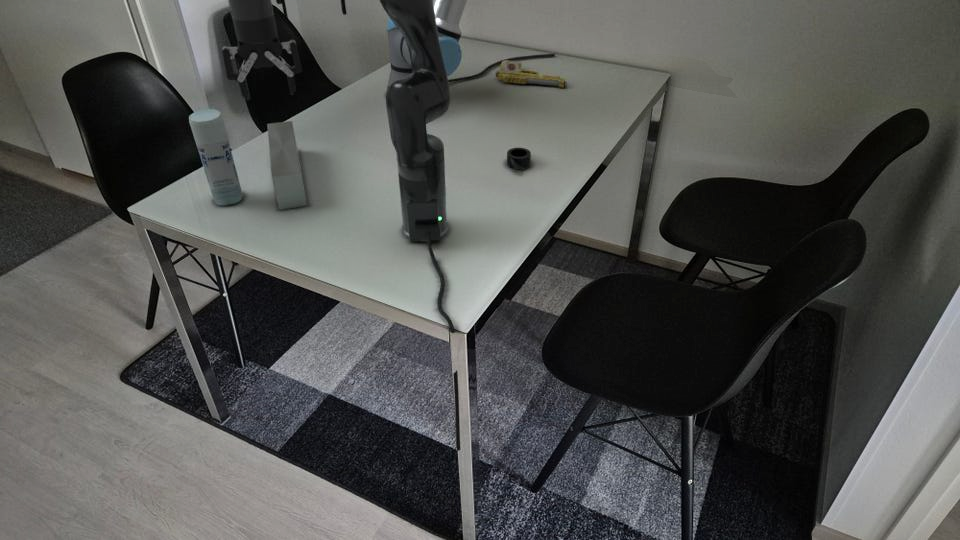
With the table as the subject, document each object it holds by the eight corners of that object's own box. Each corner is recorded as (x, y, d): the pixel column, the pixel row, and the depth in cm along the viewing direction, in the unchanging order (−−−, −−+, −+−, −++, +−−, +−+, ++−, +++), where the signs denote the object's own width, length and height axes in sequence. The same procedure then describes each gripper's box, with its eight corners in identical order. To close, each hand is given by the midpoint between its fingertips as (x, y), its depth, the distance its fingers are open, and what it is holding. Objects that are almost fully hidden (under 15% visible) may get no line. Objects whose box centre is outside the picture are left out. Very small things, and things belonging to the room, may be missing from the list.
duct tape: (494, 167, 154) (494, 156, 152) (516, 151, 160) (516, 141, 158) (520, 176, 150) (521, 165, 148) (542, 160, 156) (543, 149, 155)
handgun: (569, 72, 204) (565, 89, 193) (500, 66, 208) (492, 82, 196) (570, 65, 203) (566, 81, 191) (501, 58, 206) (492, 74, 195)
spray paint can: (212, 194, 144) (187, 111, 131) (242, 188, 145) (220, 107, 133) (214, 208, 139) (188, 124, 127) (244, 202, 141) (222, 119, 128)
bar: (306, 205, 140) (300, 173, 135) (279, 210, 139) (271, 177, 134) (298, 151, 161) (292, 120, 156) (274, 154, 159) (267, 123, 154)
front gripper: (290, 4, 122) (304, 85, 132) (212, 10, 118) (233, 92, 128) (292, 15, 116) (307, 99, 126) (211, 21, 113) (233, 107, 123)
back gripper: (354, -92, 142) (365, 6, 155) (239, -87, 136) (260, 15, 149) (359, -87, 136) (370, 15, 149) (239, -81, 130) (261, 24, 143)
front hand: (270, 95), depth 127 cm, fingers open, 8 cm apart
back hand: (315, 15), depth 149 cm, fingers open, 13 cm apart
